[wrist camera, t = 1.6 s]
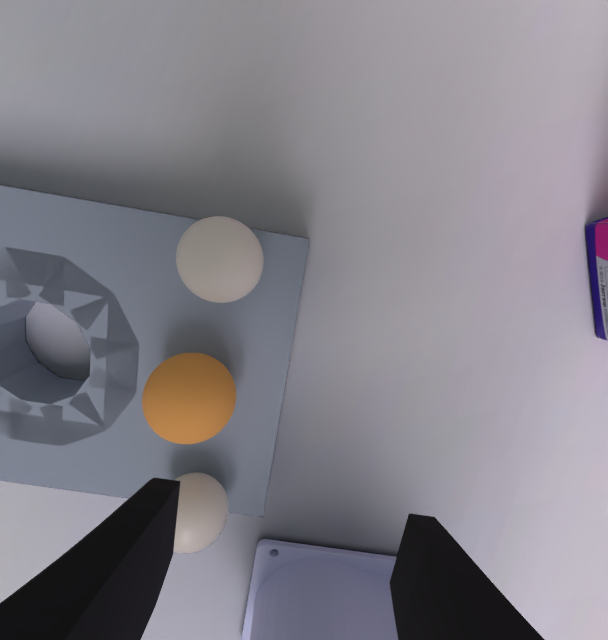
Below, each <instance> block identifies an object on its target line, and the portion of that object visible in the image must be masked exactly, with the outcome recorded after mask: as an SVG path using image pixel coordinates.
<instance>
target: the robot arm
mask: <svg viewBox="0 0 608 640" xmlns="http://www.w3.org/2000/svg"><path fill="white" fill-rule="evenodd" d="M179 491H180V481H176V480H169V479H162V478H155V477H154V478H152V479H151V480H149V481H148V482H147V483H146V484H145V485H143V486H142V487H141V488H140V489H139V490H138V491H137V492H136V493H135V494H134V495H132V496H131V497H130V498H129V499H128V500H127V501H126V502H125V503H124V504H122V505H121V506H120V507H119V508H118V509H117V510H116V511H114V512H113V513H112V514H111V515H110V516H109V517H108V518H106V519H105V520H104V521H103V522H102V523H101V524H100V525H98V526H97V527H96V528H95V529H94V530H92V531H91V532H90V533H89V534H88V535H86V536H85V537H84V538H83V539H82V540H80V541H79V542H78V543H77V544H76V545H74V546H73V547H72V548H71V549H70V550H68V551H67V552H66V553H65V554H63V555H62V556H61V557H60V558H59V559H57V560H56V561H55V562H53V563H52V564H51V565H50V566H48V567H47V568H46V569H44V570H43V571H42V572H40V573H39V574H38V575H37V576H35V577H34V578H33V579H31V580H30V581H29V582H28V583H26V584H25V585H24V586H22V587H21V588H20V589H18V590H17V591H16V592H15V593H13V594H12V595H11V596H9V597H8V598H7V599H5V600H4V601H3V602H1V603H0V640H141V637H142V635H143V633H144V630H145V628H146V626H147V624H148V621H149V619H150V617H151V615H152V612H153V610H154V608H155V605H156V602H157V600H158V597H159V594H160V591H161V588H162V585H163V582H164V579H165V576H166V573H167V570H168V567H169V564H170V561H171V558H172V555H173V549H174V539H175V530H176V520H177V510H178V500H179ZM272 549H276V550H277V551H273V550H272ZM241 640H544V639H543V638H542V637H541V636H540V635H539V633H538V632H537V631H536V630H535V629H534V628H533V627H532V626H531V625H530V624H529V623H528V622H527V621H526V619H525V618H524V617H523V616H522V615H521V614H520V613H519V612H518V611H517V610H516V609H515V608H514V606H513V605H512V604H511V603H510V602H509V601H508V600H507V599H506V598H505V596H504V595H503V594H502V593H501V592H500V591H499V590H498V589H497V588H496V586H495V585H494V584H493V583H492V582H491V581H490V580H489V578H488V577H487V576H486V575H485V574H484V573H483V572H482V571H481V569H480V568H479V567H478V566H477V565H476V564H475V562H474V561H473V560H472V559H471V558H470V557H469V556H468V554H467V553H466V552H465V551H464V550H463V549H462V548H461V546H460V545H459V544H458V543H457V542H456V541H455V540H454V538H453V537H452V536H451V535H450V534H449V533H448V532H447V530H446V529H445V528H444V527H443V526H442V525H441V524H440V523H439V522H438V521H437V519H436V518H435V517H430V516H423V515H416V514H409V516H408V519H407V523H406V526H405V530H404V533H403V537H402V540H401V544H400V547H399V551H398V554H397V557H394V556H387V555H379V554H372V553H365V552H357V551H350V550H343V549H335V548H328V547H321V546H313V545H306V544H298V543H291V542H284V541H276V540H269V539H263V540H260V541H259V542H258V544H257V548H256V554H255V559H254V565H253V571H252V577H251V583H250V589H249V595H248V601H247V607H246V613H245V619H244V624H243V630H242V636H241Z"/></svg>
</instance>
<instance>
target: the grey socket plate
mask: <svg viewBox="0 0 608 640" xmlns="http://www.w3.org/2000/svg"><path fill="white" fill-rule="evenodd" d="M199 220H200V219H194V218H189V217H183V216H177V215H171V214H166V213H160V212H154V211H148V210H143V209H137V208H131V207H126V206H120V205H114V204H108V203H103V202H97V201H91V200H85V199H80V198H74V197H68V196H63V195H57V194H51V193H45V192H40V191H34V190H28V189H22V188H17V187H11V186H5V185H0V481H6V482H13V483H21V484H28V485H35V486H42V487H50V488H57V489H64V490H71V491H78V492H86V493H93V494H100V495H107V496H115V497H122V498H130V497H131V496H132V495H134V494H135V493H136V492H137V491H138V490H139V489H140V488H141V487H142V486H143V485H145V484H146V483H147V482H148V481H149V480H151V479H152V478H154V477H155V478H162V479H169V480H175V479H176V478H178V477H180V476H182V475H184V474H188V473H194V472H199V473H205V474H208V475H210V476H212V477H214V478H215V479H217V480H218V481H219V482H220V484H221V485H222V486H223V488H224V489H225V492H226V494H227V498H228V504H229V511H228V512H230V513H237V514H245V515H252V516H259V517H263V512H264V506H265V500H266V494H267V489H268V483H269V477H270V471H271V465H272V459H273V453H274V447H275V442H276V436H277V430H278V424H279V418H280V412H281V406H282V400H283V394H284V389H285V383H286V377H287V371H288V365H289V359H290V353H291V347H292V341H293V336H294V330H295V324H296V318H297V312H298V306H299V300H300V294H301V289H302V283H303V277H304V271H305V265H306V259H307V253H308V247H309V241H310V239H309V238H303V237H297V236H292V235H286V234H280V233H275V232H269V231H263V230H257V229H252V228H249V229H250V230H251V231H252V232H253V233H254V234H255V235H256V237H257V239H258V240H259V242H260V245H261V247H262V251H263V256H264V265H263V271H262V274H261V277H260V279H259V281H258V283H257V285H256V286H255V287H254V289H253V290H252V291H251V292H249V293H248V294H247V295H246V296H244V297H242V298H240V299H238V300H236V301H232V302H227V303H216V302H210V301H207V300H204V299H202V298H200V297H198V296H197V295H195V294H194V293H193V292H191V291H190V290H189V289H188V288H187V286H186V285H185V284H184V283H183V281H182V279H181V277H180V275H179V273H178V270H177V265H176V251H177V246H178V243H179V241H180V238H181V237H182V235H183V234H184V232H185V231H186V230H187V229H188V228H189V227H190V226H191V225H192V224H194V223H195V222H197V221H199ZM35 302H42V303H49V304H51V305H53V306H54V307H56V308H57V309H58V310H60V311H61V312H63V313H64V314H66V315H67V316H68V317H70V318H71V319H73V320H74V321H75V322H77V324H78V326H79V328H80V330H81V332H82V334H83V335H84V337H85V339H86V341H87V343H88V345H89V347H90V348H91V350H90V376H89V377H88V378H87V380H86V381H80V380H74V379H67V378H61V377H58V376H57V375H55V374H54V373H52V372H51V371H50V370H48V369H47V368H45V367H44V366H42V365H41V364H39V363H38V362H37V360H36V358H35V356H34V355H33V353H32V351H31V350H30V348H29V346H28V344H27V343H26V339H25V317H26V315H27V314H28V312H29V311H30V309H31V308H32V306H33V305H34V303H35ZM193 352H195V353H202V354H206V355H209V356H211V357H213V358H215V359H217V360H218V361H220V362H221V363H222V364H223V365H224V366H225V367H226V368H227V369H228V371H229V372H230V374H231V376H232V378H233V380H234V383H235V387H236V403H235V408H234V411H233V414H232V416H231V418H230V419H229V421H228V423H227V424H226V425H225V426H224V428H223V429H222V430H221V431H220V432H218V433H217V434H216V435H214V436H213V437H211V438H209V439H208V440H205V441H203V442H199V443H195V444H177V443H173V442H170V441H167V440H165V439H163V438H162V437H160V436H159V435H158V434H156V433H155V432H154V431H153V430H152V428H151V427H150V426H149V424H148V422H147V421H146V418H145V416H144V413H143V407H142V395H143V390H144V386H145V384H146V382H147V380H148V378H149V376H150V375H151V373H152V372H153V371H154V370H155V368H156V367H157V366H158V365H160V364H161V363H162V362H164V361H165V360H167V359H168V358H170V357H173V356H175V355H178V354H182V353H193Z"/></svg>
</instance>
